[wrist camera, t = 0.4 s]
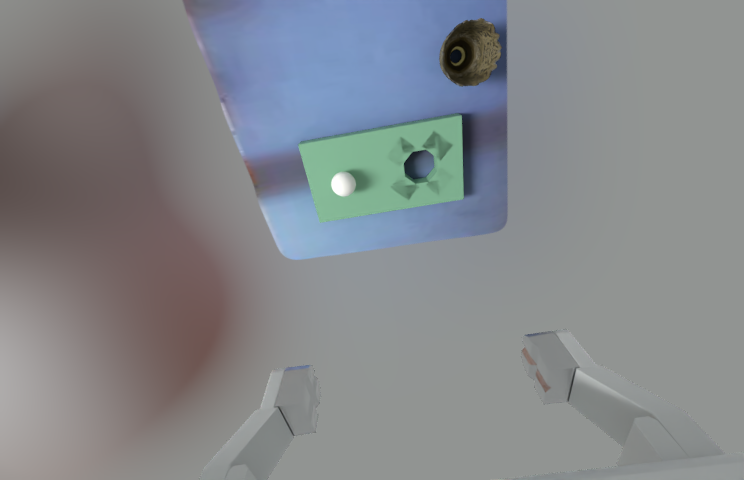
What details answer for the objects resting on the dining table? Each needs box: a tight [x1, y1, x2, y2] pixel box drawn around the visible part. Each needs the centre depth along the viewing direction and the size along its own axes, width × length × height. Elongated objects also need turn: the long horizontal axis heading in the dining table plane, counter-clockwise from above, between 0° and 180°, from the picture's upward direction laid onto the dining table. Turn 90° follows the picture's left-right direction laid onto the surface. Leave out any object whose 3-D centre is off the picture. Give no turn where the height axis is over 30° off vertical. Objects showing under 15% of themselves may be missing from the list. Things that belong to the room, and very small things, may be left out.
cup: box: [439, 18, 502, 87], centre depth 42 cm, size 8×7×8 cm
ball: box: [331, 172, 356, 197], centre depth 50 cm, size 4×4×4 cm
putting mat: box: [298, 113, 464, 223], centre depth 53 cm, size 14×26×2 cm, turn 100°
